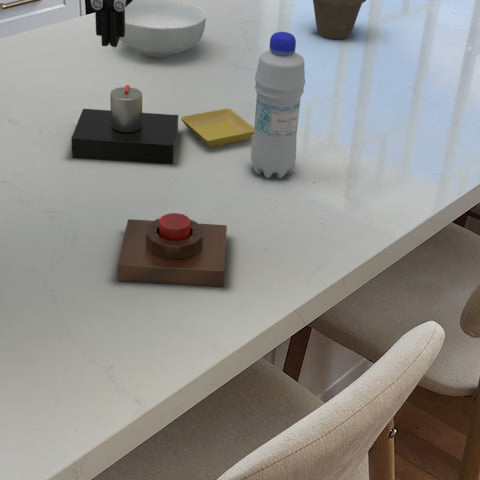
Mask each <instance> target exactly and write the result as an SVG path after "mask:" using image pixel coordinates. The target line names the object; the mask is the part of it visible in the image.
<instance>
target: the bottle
mask: <svg viewBox="0 0 480 480" xmlns="http://www.w3.org/2000/svg"><path fill="white" fill-rule="evenodd" d="M296 44H297V40H296V37H295V35H293V33H290V32H288V31H287V32H286V31H277V32H274V33H273V34H272V35H271V36H270V40H269V49H268V50H266V51H263V52H262V53H260V55H259V59H258V61H257V62H258V63H257V68H256V72H255V76H254V81H255V84H254V89H255V92H256V99H255V112H254V113H255V115H254V126H253V127H254V135H253V136H252V142H251V147H250V148H251V149H250V158H251V164H252V168H253V171H254V172H255V173H256V174H257V175H261V174H262V173H263V175H264V177H265V178H267V179H270V178H271V177H272V174H274V173H276V177H277V179H282V178H284V177H285V175H289V174H290V173H292V172H293V170H294V167H295V164H296V160H297V159H296V158H297V137H298V136H297V134H298V126H299V117H300V116H299V115H300V108H301V97H302V95H303V94H304V92H305V90H304V87H305V85H306V75H305V74H306V73H305V72H306V71H305V59H304V57H303V55H301V54H299V53H298V52H296V47H297V46H296Z"/></svg>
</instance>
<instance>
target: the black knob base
mask: <svg viewBox="0 0 480 480" xmlns="http://www.w3.org/2000/svg"><path fill="white" fill-rule="evenodd" d="M178 136H179V115H178V114H169V113H168V114H167V113H155V112H154V113H152V112H142V128H141V129H140V130H138V131H135V132H119V131H116V130H114V129H113V128H112V127H111V109H109V110H107V109H95V108H94V109H93V108H82V110H81V113H80V115H79V118H78V121H77V123H76V126H75V128H74V131H73V134H72V136H71V139H70V141H71V157H72V158H73V159H84V160H101V161H114V162H118V161H119V162H131V163H132V162H133V163H146V164H163V165H164V164H165V165H174V159H175V154H176V149H177V148H176V147H177V142H178Z"/></svg>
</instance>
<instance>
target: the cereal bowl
mask: <svg viewBox="0 0 480 480" xmlns="http://www.w3.org/2000/svg"><path fill="white" fill-rule="evenodd" d="M206 15H207V14H206V12H205V11H204V10H203V9H202V8H201V7H199V6H198V5H196V4H193V3H190V2H187V1H184V0H133V1H132V2H131V3H130V4H129V5H127V6H126V7H125V36H124V37H120V39H119V41H120V42H121V43H122V44H124V45H125V46H127V47H129V48H130V49H133V50H136V52H138V53H140V54H141V55H144V56H148V57H155V58H165V57H167V58H168V57H172V56H175V55H178V54H179V53H182V52H185V51H187V50H189V49H192V48H193V47H195V46H196V45H197V44H198V43H199V42H200V41H201V39H202V37H203V35H204V32H205V28H206V21H207V20H206V19H207V18H206Z"/></svg>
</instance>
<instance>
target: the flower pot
mask: <svg viewBox="0 0 480 480" xmlns="http://www.w3.org/2000/svg"><path fill="white" fill-rule="evenodd" d="M366 1H367V0H312V3H313V11H314V18H315V19H314V20H315V25H316V31H317V34H318V35H320V36H321V37H323V38H326V39H331V40H345V39H348V38H349V37H350V36H351V34H352V32H353V30H354V26H355V24H356V22H357V18H358V16H359V12H360V10H361V8H362V5H363V4H364V3H365V2H366Z"/></svg>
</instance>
